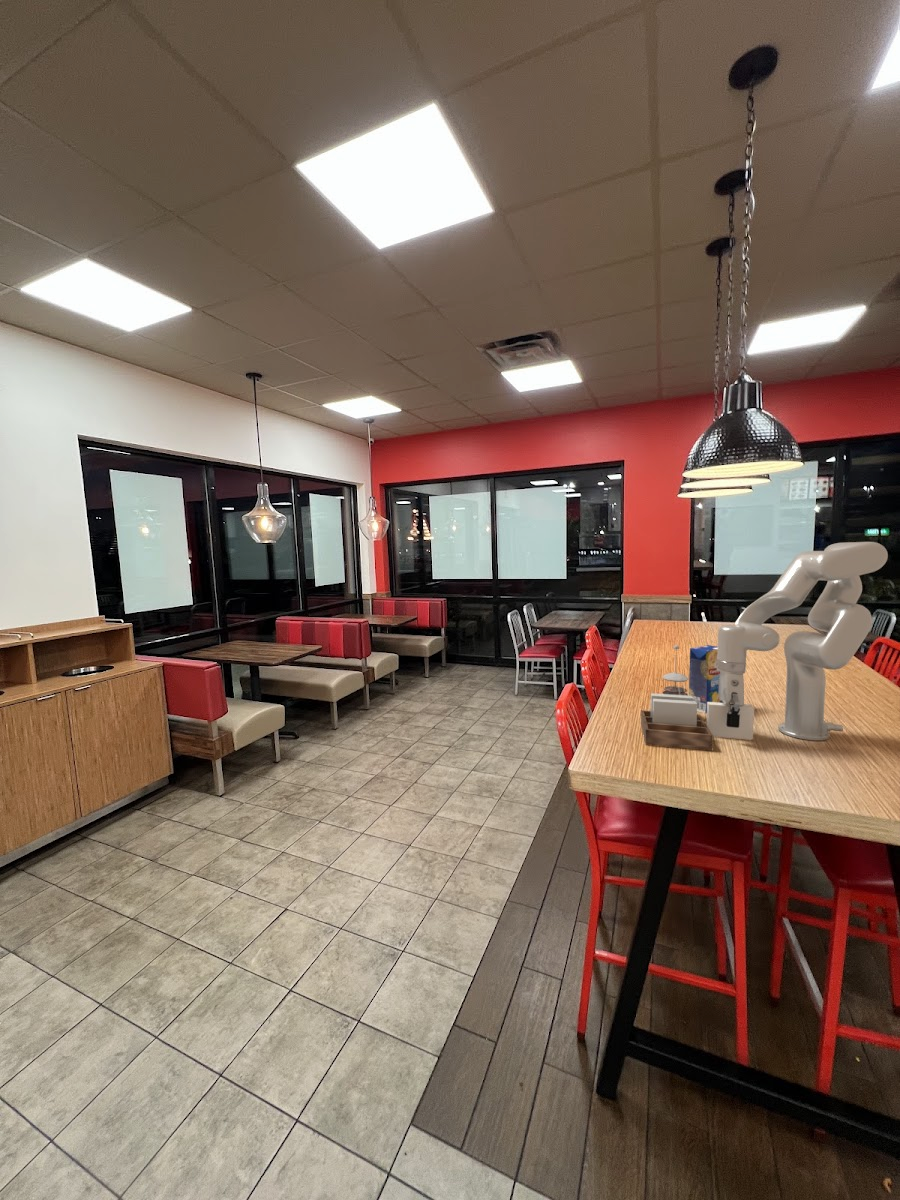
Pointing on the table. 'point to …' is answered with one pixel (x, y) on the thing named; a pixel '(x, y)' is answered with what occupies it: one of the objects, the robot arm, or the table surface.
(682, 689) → the french press
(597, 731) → the table surface
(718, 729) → the plate
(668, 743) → the rack
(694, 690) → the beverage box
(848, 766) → the table surface
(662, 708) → the racked plate mid
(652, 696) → the racked plate far
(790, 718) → the robot arm
